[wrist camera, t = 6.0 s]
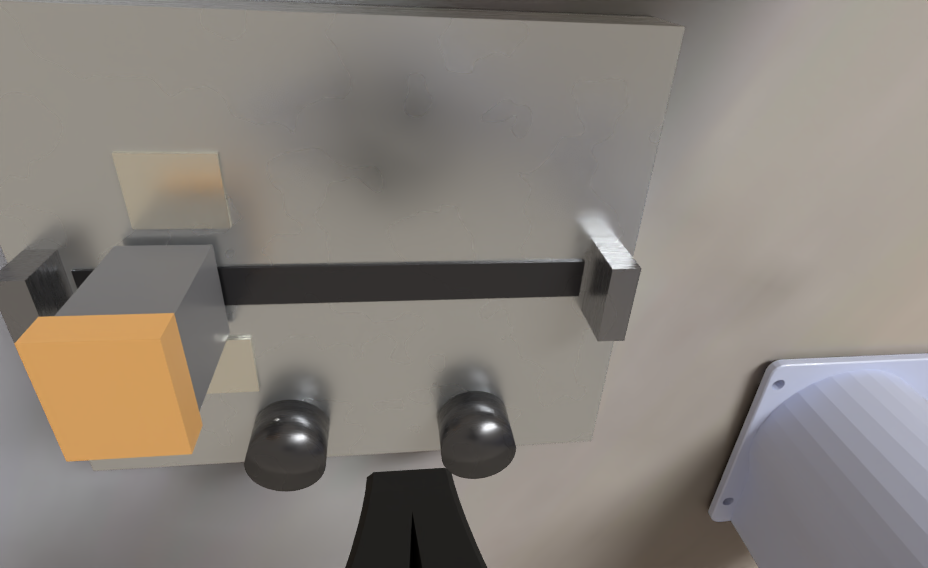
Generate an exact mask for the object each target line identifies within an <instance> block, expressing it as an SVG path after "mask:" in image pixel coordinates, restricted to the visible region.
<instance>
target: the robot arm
mask: <svg viewBox="0 0 928 568" xmlns="http://www.w3.org/2000/svg"><path fill="white" fill-rule="evenodd" d="M708 513H709V515H710V517H711V518H712V520H713V521H716V522H723V521H731V522H732V524H733V525H734V527H735V529H736V530H737V532H738V534H739V535H740V537H741V539H742V540H743V542H744V544H745V545H746V547H747V549H748V551H749V552H750V554H751V556H752V557H753V559H754V561H755V562H756V564H757V566H758V567H759V568H928V353H924V354H900V355H877V356H854V357H830V358H807V359H784V360H777V361H774V362H772V363H771V364H770V365H769V366H768V367H767V369H766V371H765V373H764V376H763V378H762V381H761V383H760V385H759V388H758V390H757V393H756V395H755V398H754V400H753V403H752V405H751V407H750V410H749V412H748V415H747V417H746V420H745V422H744V425H743V427H742V429H741V432H740V434H739V437H738V439H737V442H736V444H735V447H734V449H733V451H732V454H731V456H730V459H729V461H728V464H727V466H726V469H725V471H724V473H723V476H722V478H721V481H720V483H719V486H718V488H717V491H716V493H715V495H714V498H713V500H712V503H711V505H710V508H709V510H708ZM345 568H487V566H486V564H485V562H484V560H483V558H482V555H481V553H480V551H479V549H478V546H477V544H476V542H475V539H474V537H473V534H472V532H471V530H470V527H469V525H468V522H467V520H466V517H465V514H464V512H463V509H462V506H461V503H460V501H459V498H458V494H457V491H456V488H455V485H454V481H453V477H452V473H451V472H450V471H449V470H447V469H446V468H435V469H419V470H403V471H387V472H373V473H372V474H371V475H370V476H368V477H367V482H366V491H365V497H364V502H363V507H362V511H361V516H360V520H359V524H358V528H357V531H356V535H355V538H354V542H353V545H352V549H351V552H350V555H349V558H348V561H347V564H346V567H345Z"/></svg>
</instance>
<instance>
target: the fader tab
mask: <svg viewBox="0 0 928 568" xmlns="http://www.w3.org/2000/svg"><path fill="white" fill-rule="evenodd" d="M229 333H230V330H229V324H228V319H227V314H226V309H225V304H224V299H223V294H222V289H221V284H220V279H219V274H218V269H217V264H216V259H215V254H214V249H213V245H144V246H114V247H113V248H112V249H111V250H110V252H109V253H108V254H107V255H106V256H105V257H104V259H103V260H102V261H101V262H100V263H99V264H98V266H97V267H96V268H95V269H94V270H93V271H92V273H91V274H90V275H89V276H88V277H87V278H86V280H85V281H84V282H83V283H82V284H81V285H80V287H79V288H78V289H77V290H76V291H75V292H74V294H73V295H72V296H71V297H70V298H69V300H68V301H67V302H66V303H65V304H64V305H63V307H62V308H61V309H60V310H59V311H58V312H57V314H56V315H55V316H47V317H38V318H37V319H36V320H35V321H34V322H33V323H32V324H31V326H30V327H29V328H28V329H27V330H26V331H25V332H24V333H23V334H22V336H21V337H20V338H19V339H18V340H17V341H16V342H15V343H14V344H15V346H16V349H17V351H18V353H19V355H20V358H21V360H22V362H23V364H24V367H25V369H26V371H27V373H28V376H29V378H30V380H31V382H32V385H33V387H34V389H35V391H36V394H37V396H38V398H39V401H40V403H41V405H42V407H43V410H44V412H45V414H46V416H47V419H48V421H49V423H50V425H51V428H52V430H53V432H54V434H55V437H56V439H57V441H58V443H59V446H60V448H61V450H62V452H63V455H64V457H65V459H66V461H84V460H101V459H119V458H136V457H153V456H170V455H188V454H192V453H193V451H194V448H195V445H196V442H197V440H198V437H199V434H200V431H201V429H202V426H203V424H202V420H201V416H200V409H201V406H202V404H203V401H204V399H205V396H206V393H207V391H208V388H209V385H210V383H211V380H212V378H213V375H214V372H215V370H216V367H217V364H218V362H219V359H220V356H221V354H222V351H223V349H224V346H225V343H226V341H227V338H228V335H229Z"/></svg>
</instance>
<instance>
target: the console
mask: <svg viewBox="0 0 928 568" xmlns="http://www.w3.org/2000/svg"><path fill="white" fill-rule="evenodd" d="M684 30H685V26H681V25H678V24H675V23H671V22H668V21H665V20H662V19H658V18H655V17H650V16H625V15H600V14H575V13H549V12H524V11H499V10H474V9H449V8H424V7H399V6H374V5H349V4H324V3H299V2H274V1H249V0H0V246H1V248H2V251H3V253H4V255H5V258H6V260H7V263H8V264H7V265H6V266H4V267H3V268H2V269H1V270H0V311H1V314H2V316H3V318H4V320H5V323H6V325H7V327H8V330H9V332H10V334H11V336H12V339H13V341H14V343H15V342H16V341H17V340H18V339H19V338H20V337H21V336H22V334H23V333H24V332H25V331H26V330H27V329H28V328H29V327H30V326H31V324H32V323H33V322H34V321H35V320H36V319H37V318H38V317H47V316H55V315H56V314H57V312H58V311H59V310H60V309H61V308H62V307H63V305H64V304H65V303H66V302H67V301H68V300H69V298H70V297H71V296H72V295H73V294H74V292H75V291H76V290H77V289H78V288H79V287H80V285H81V284H82V283H83V282H84V281H85V280H86V278H87V277H88V276H89V275H90V274H91V273H92V271H93V270H94V269H95V268H96V267H97V266H98V264H99V263H100V262H101V261H102V260H103V259H104V257H105V256H106V255H107V254H108V253H109V252H110V250H111V249H112V248H113V247H114V246H144V245H213V249H214V254H215V259H216V264H217V269H218V274H219V279H220V284H221V289H222V294H223V299H224V304H225V309H226V314H227V319H228V324H229V330H230V333H229V335H228V338H227V341H226V343H225V346H224V349H223V351H222V354H221V356H220V359H219V362H218V364H217V367H216V370H215V372H214V375H213V378H212V380H211V383H210V385H209V388H208V391H207V393H206V396H205V399H204V401H203V404H202V406H201V409H200V416H201V420H202V424H203V426H202V429H201V431H200V434H199V437H198V440H197V442H196V445H195V448H194V451H193V453H192V454H188V455H170V456H153V457H136V458H119V459H101V460H89V461H90V464H91V466H92V468H93V471H102V470H118V469H135V468H152V467H168V466H185V465H201V464H218V463H235V462H244V465H245V470H246V472H247V474H248V476H249V477H250V478H251V479H252V480H253V481H254V482H256V483H257V484H259V485H260V486H263V487H265V488H268V489H271V490H276V491H296V490H300V489H304V488H306V487H309V486H311V485H312V484H314V483H315V482H317V481H318V480H319V479H320V478H321V476H322V475H323V473H324V471H325V467H326V458H327V457H335V456H351V455H368V454H384V453H401V452H418V451H434V450H441V456H442V462H443V464H444V466H445V467H446V469H447V470H449V471H450V472H451V473H452V474H454V475H456V476H459V477H462V478H468V479H478V478H485V477H488V476H492V475H494V474H496V473H498V472H500V471H502V470H503V469H504V468H506V467H507V466H508V465H509V464H510V462H511V461H512V460H513V458H514V455H515V452H516V446H518V445H534V444H551V443H567V442H584V441H591V440H592V436H593V431H594V427H595V422H596V418H597V414H598V409H599V405H600V400H601V396H602V391H603V387H604V383H605V378H606V374H607V369H608V365H609V361H610V356H611V352H612V347H613V343H614V341H623V340H624V339H625V335H626V331H627V326H628V322H629V318H630V314H631V310H632V305H633V301H634V297H635V293H636V289H637V284H638V280H639V276H640V272H641V268H640V266H639V265H638V264H637V262H636V261H635V260H634V259H633V255H634V250H635V246H636V241H637V237H638V233H639V228H640V224H641V219H642V215H643V211H644V206H645V202H646V197H647V193H648V189H649V184H650V180H651V175H652V171H653V166H654V162H655V158H656V153H657V149H658V144H659V140H660V136H661V131H662V127H663V122H664V118H665V114H666V109H667V105H668V100H669V96H670V91H671V87H672V83H673V78H674V74H675V69H676V65H677V61H678V56H679V52H680V47H681V43H682V38H683V34H684Z"/></svg>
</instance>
